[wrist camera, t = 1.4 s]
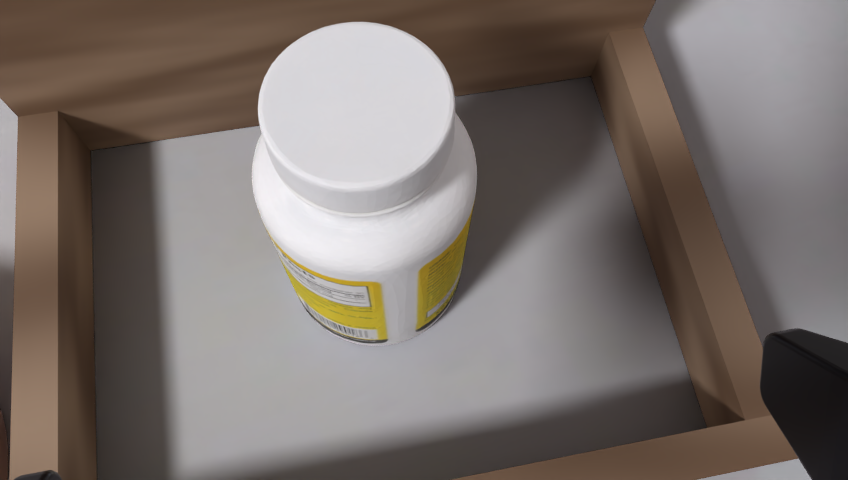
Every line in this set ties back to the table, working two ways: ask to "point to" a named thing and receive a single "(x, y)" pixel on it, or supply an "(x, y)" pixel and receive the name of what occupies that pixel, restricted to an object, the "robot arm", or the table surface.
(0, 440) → the terracotta stand
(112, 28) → the brown wooden frame
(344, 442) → the table surface
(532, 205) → the table surface
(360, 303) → the supplement bottle
